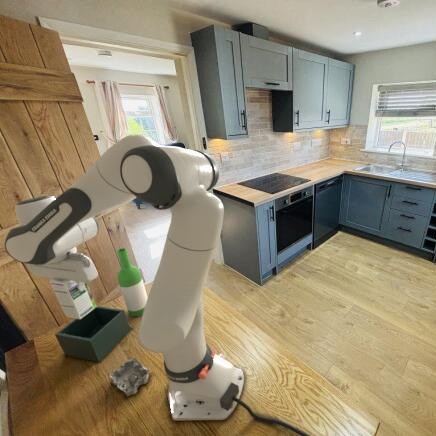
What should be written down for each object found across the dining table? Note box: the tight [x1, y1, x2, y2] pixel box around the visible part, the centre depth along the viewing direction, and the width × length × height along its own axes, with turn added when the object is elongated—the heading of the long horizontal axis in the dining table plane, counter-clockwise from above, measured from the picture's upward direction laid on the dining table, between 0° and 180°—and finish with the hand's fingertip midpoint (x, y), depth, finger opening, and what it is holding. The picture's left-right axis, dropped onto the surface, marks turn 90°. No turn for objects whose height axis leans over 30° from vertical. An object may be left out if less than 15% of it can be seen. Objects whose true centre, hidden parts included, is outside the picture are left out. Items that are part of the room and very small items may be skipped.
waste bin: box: [54, 305, 132, 363], centre depth 85 cm, size 14×14×10 cm
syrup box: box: [49, 278, 98, 319], centre depth 75 cm, size 6×6×14 cm
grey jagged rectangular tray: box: [107, 357, 150, 397], centre depth 74 cm, size 11×8×4 cm
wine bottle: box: [116, 247, 148, 317], centre depth 95 cm, size 8×8×30 cm
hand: (71, 288), depth 75 cm, fingers closed on syrup box, 6 cm apart
